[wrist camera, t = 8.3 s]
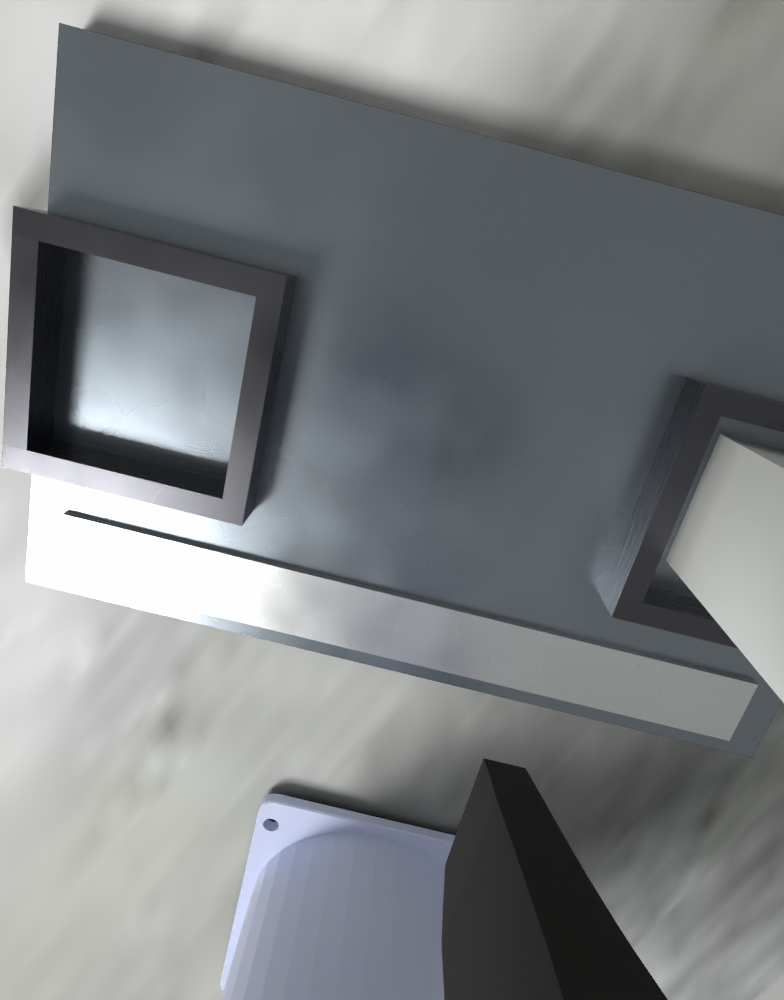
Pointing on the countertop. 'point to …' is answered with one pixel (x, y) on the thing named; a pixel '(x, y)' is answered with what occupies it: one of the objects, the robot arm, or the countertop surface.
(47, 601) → the countertop surface
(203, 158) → the panel
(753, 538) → the white rectangular block
